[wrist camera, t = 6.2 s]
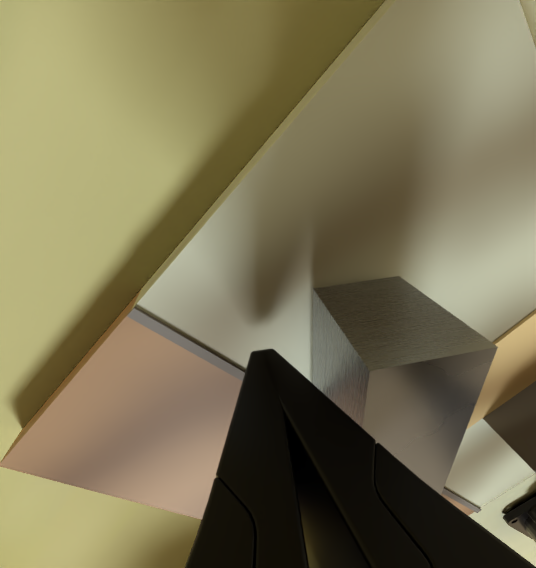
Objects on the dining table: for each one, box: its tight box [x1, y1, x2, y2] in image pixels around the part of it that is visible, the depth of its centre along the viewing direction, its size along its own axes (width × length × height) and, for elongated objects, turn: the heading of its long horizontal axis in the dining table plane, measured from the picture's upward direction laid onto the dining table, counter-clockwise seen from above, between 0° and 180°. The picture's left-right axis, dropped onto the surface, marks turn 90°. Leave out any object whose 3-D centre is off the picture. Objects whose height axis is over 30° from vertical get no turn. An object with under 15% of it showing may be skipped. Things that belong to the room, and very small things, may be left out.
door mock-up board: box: [0, 0, 536, 520], centre depth 11 cm, size 22×18×4 cm
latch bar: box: [312, 276, 498, 495], centre depth 9 cm, size 13×4×4 cm, turn 4°
